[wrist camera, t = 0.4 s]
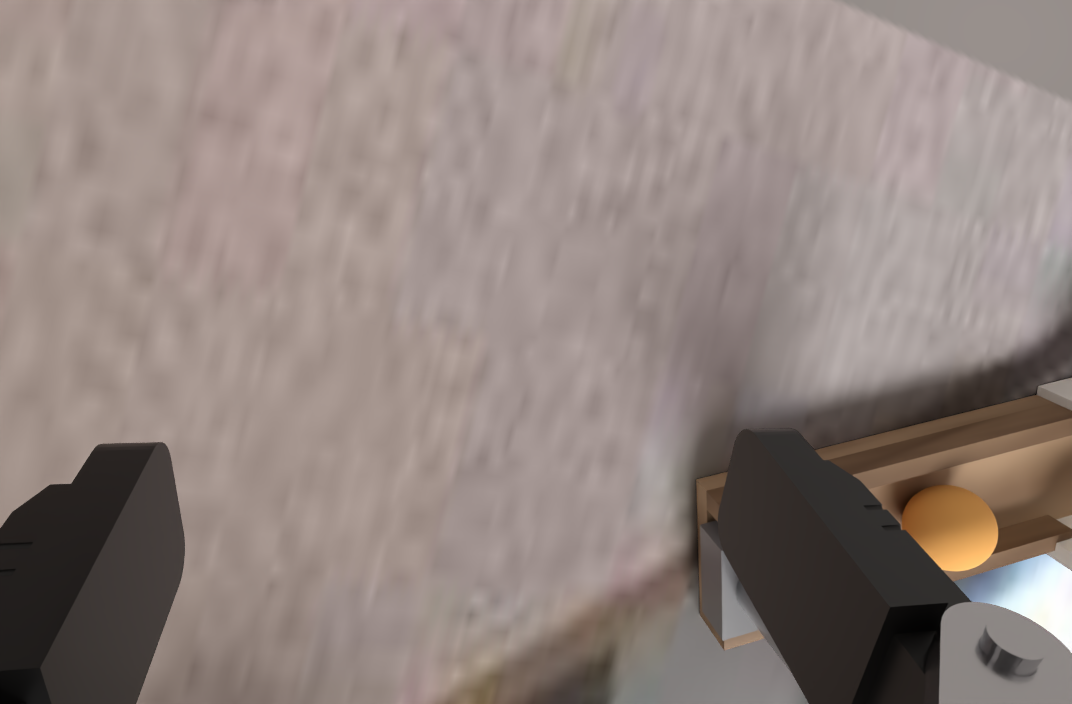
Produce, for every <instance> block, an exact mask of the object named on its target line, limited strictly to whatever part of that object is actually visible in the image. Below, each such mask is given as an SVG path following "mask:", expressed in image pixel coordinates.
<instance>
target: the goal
mask: <svg viewBox="0 0 1072 704" xmlns="http://www.w3.org/2000/svg"><path fill="white" fill-rule="evenodd" d="M1037 395H1038V396H1041V397H1043V398H1045V399H1047V400H1049V401H1051V402H1054V403H1056V404H1058V405H1060V406H1062V407H1065V408H1067V409H1069V410H1071V411H1072V378H1068V379H1064V380H1060V381H1056V382H1052V383H1048V384H1044V385H1040V386H1038V389H1037ZM1056 520H1058V521H1059V522H1061V523H1063V524H1064V525H1066V526H1068V527H1069V528H1071V529H1072V515H1070V516H1067V517H1063V518H1060V519H1056ZM1046 554H1047V555H1049V556H1050V557H1052V558H1053V559H1055V560H1056V561H1058V562H1059V563H1061V564H1062V565H1064V566H1065V567H1067V568H1068V569H1070V570H1071V571H1072V538H1071V539H1068V540H1064V541H1061V542H1058V543H1056V548H1055V551H1052V552H1049V553H1046Z"/></svg>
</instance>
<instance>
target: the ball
mask: <svg viewBox="0 0 1072 704" xmlns="http://www.w3.org/2000/svg"><path fill="white" fill-rule="evenodd" d="M902 530H906V531H907V532H908V533H909V534H910V535H911V536H912V537H913V539H914V540H915V541H916V542H917V543H918V544H919V545H920V546H921V547H922V548H923V549H924V551H925V552H926V553H927V554H928V555H929V556H930V557H931V558H932V559H933V560H934V561H935V563H936V564H937V565H938V566H939V567H940V568H941V569H942V570H947V571H965V570H969V569H972V568H975V567H977V566H979V565H980V564H982V563H983V562H985V561H986V560H987V559H988V558H989V557H990V556H991V554H992V553H993V551H994V549H995V547H996V544H997V540H998V526H997V522H996V519H995V516H994V514H993V512H992V511H991V509H990V508H989V506H988V505H987V504H986V503H985V502H984V501H983V500H982V499H981V498H980V497H979V496H977V495H976V494H974V493H973V492H971V491H969V490H967V489H964V488H961V487H957V486H953V485H936V486H932V487H928V488H925V489H923V490H921V491H920V492H918V493H917V494H915V495H914V496H913V497H912V498H911V499H910V500H909V502H908V503H907V505H906V507H905V509H904V511H903V515H902Z"/></svg>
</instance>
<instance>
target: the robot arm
mask: <svg viewBox="0 0 1072 704" xmlns="http://www.w3.org/2000/svg"><path fill="white" fill-rule="evenodd" d="M718 533H719V539H720V543H721V546H722V549H723V552H724V554H725V556H726V557H727V559H728V561H729V563H730V565H731V566H732V568H733V570H734V572H735V573H736V575H737V577H738V579H739V580H740V582H741V584H742V586H743V588H744V589H745V591H746V593H747V595H748V596H749V598H750V600H751V602H752V603H753V605H754V607H755V609H756V611H757V612H758V614H759V616H760V618H761V619H762V621H763V623H764V625H765V626H766V628H767V630H768V632H769V634H770V635H771V637H772V639H773V641H774V642H775V644H776V646H777V648H778V649H779V651H780V653H781V655H782V657H783V658H784V660H785V662H786V664H787V665H788V667H789V669H790V671H791V672H792V674H793V676H794V678H795V680H796V681H797V683H798V685H799V687H800V688H801V690H802V692H803V694H804V695H805V697H806V699H807V701H808V703H809V704H1072V653H1071V652H1070V651H1069V650H1068V649H1067V648H1066V646H1065V645H1064V644H1063V643H1062V642H1061V641H1059V640H1058V639H1057V638H1056V637H1055V636H1054V635H1053V634H1051V633H1050V632H1048V631H1047V630H1046V629H1044V628H1043V627H1042V626H1040V625H1038V624H1037V623H1035V622H1033V621H1032V620H1030V619H1028V618H1026V617H1024V616H1022V615H1020V614H1018V613H1016V612H1013V611H1011V610H1008V609H1006V608H1002V607H999V606H996V605H992V604H987V603H980V602H971V601H970V600H969V598H968V597H967V596H966V595H965V594H964V593H963V592H962V591H961V590H960V589H959V588H958V586H957V585H956V584H955V583H954V582H953V581H952V580H951V579H950V578H949V577H948V576H947V574H946V573H945V572H944V571H943V570H942V569H941V568H940V567H939V566H938V565H937V564H936V563H935V561H934V560H933V559H932V558H931V557H930V556H929V555H928V554H927V553H926V552H925V551H924V549H923V548H922V547H921V546H920V545H919V544H918V543H917V542H916V541H915V540H914V539H913V537H912V536H911V535H910V534H909V533H908V532H907V531H906V530H901V524H900V523H899V522H898V521H897V520H896V519H895V518H894V517H893V516H892V515H891V513H890V512H889V511H888V510H887V509H884V510H883V508H882V504H881V503H880V502H879V500H878V499H877V498H876V497H875V496H874V495H873V494H872V493H871V492H870V491H869V490H868V488H867V487H866V486H865V485H864V484H863V483H862V482H861V481H860V480H859V479H857V478H856V477H854V476H853V475H851V474H849V473H848V472H846V471H845V470H843V469H842V468H840V467H839V466H837V465H835V464H834V463H832V462H831V461H829V460H823V459H822V458H821V457H820V456H819V455H818V454H817V452H816V451H815V450H814V449H813V448H812V447H811V446H810V444H809V443H808V442H807V441H806V440H805V439H804V438H803V437H802V435H801V434H800V433H799V432H798V431H796V430H795V429H792V428H779V429H745V430H742V431H741V432H740V433H739V434H738V436H737V438H736V440H735V444H734V448H733V452H732V456H731V460H730V465H729V469H728V473H727V477H726V482H725V486H724V490H723V494H722V498H721V503H720V507H719V512H718ZM184 556H185V540H184V531H183V526H182V520H181V514H180V508H179V502H178V497H177V491H176V485H175V479H174V473H173V467H172V462H171V457H170V453H169V450H168V448H167V446H166V445H165V444H164V443H163V442H155V443H114V444H99V445H98V446H96V447H95V448H94V450H93V451H92V453H91V454H90V456H89V457H88V459H87V460H86V462H85V463H84V465H83V466H82V468H81V470H80V471H79V473H78V474H77V476H76V477H75V479H74V480H73V482H72V483H71V484H54V485H49V486H48V487H46V488H45V489H44V490H42V491H41V492H39V493H38V494H37V495H35V496H34V497H32V498H31V499H30V500H28V501H27V502H26V503H24V504H23V505H21V506H20V507H19V508H17V509H16V510H15V511H13V512H12V513H11V515H10V516H9V517H8V519H7V520H6V521H5V523H4V524H3V526H2V527H1V528H0V704H136V703H137V700H138V697H139V694H140V691H141V689H142V686H143V683H144V680H145V678H146V675H147V672H148V669H149V667H150V664H151V661H152V658H153V656H154V653H155V650H156V647H157V645H158V642H159V639H160V636H161V634H162V631H163V628H164V625H165V623H166V620H167V617H168V614H169V612H170V609H171V606H172V603H173V601H174V598H175V595H176V592H177V590H178V587H179V584H180V581H181V577H182V572H183V566H184Z"/></svg>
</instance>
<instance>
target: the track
mask: <svg viewBox="0 0 1072 704" xmlns="http://www.w3.org/2000/svg"><path fill="white" fill-rule="evenodd" d="M815 451H816V452H817V454H818V455H819V456H820V457H821V458H822V459H823V460H829V461H831V462H832V463H834V464H835V465H837V466H839V467H840V468H842V469H843V470H845V471H846V472H848V473H849V474H851V475H853V476H854V477H856V478H857V479H859V480H860V481H861V482H862V483H863V484H864V485H865V486H866V487H867V488H868V490H869V491H870V492H871V493H872V494H873V495H874V496H875V497H876V498H877V499H878V500H879V502H880V503H881V504H882V508H883V510H884V509H887V510H888V511H889V512H890V513H891V515H892V516H893V517H894V518H895V519H896V520H897V521H898V522H899V523H900V524H901V530H902V515H903V511H904V509H905V507H906V505H907V503H908V502H909V500H910V499H911V498H912V497H913V496H914V495H915V494H917V493H918V492H920V491H921V490H923V489H925V488H928V487H932V486H936V485H953V486H957V487H961V488H964V489H967V490H969V491H971V492H973V493H974V494H976V495H977V496H979V497H980V498H981V499H982V500H983V501H984V502H985V503H986V504H987V505H988V506H989V508H990V509H991V511H992V512H993V514H994V516H995V519H996V522H997V526H998V540H997V544H996V547H995V549H994V551H993V553H992V554H991V556H990V557H989V558H988V559H987V560H986V561H985V562H983V563H982V564H980V565H979V566H977V567H975V568H972V569H969V570H965V571H947V570H943V571H944V572H945V573H946V574H947V576H948V577H949V578H950V579H951V580H952V581H956V580H959V579H963V578H966V577H969V576H973V575H976V574H979V573H983V572H986V571H989V570H993V569H996V568H999V567H1003V566H1006V565H1009V564H1012V563H1016V562H1019V561H1022V560H1026V559H1029V558H1032V557H1036V556H1039V555H1042V554H1046V553H1049V552H1052V551H1055V548H1056V543H1058V542H1061V541H1064V540H1068V539H1071V538H1072V529H1071V528H1069V527H1068V526H1066V525H1064V524H1063V523H1061V522H1059V521H1058V520H1056V519H1060V518H1063V517H1067V516H1070V515H1072V411H1071V410H1069V409H1067V408H1065V407H1062V406H1060V405H1058V404H1056V403H1054V402H1051V401H1049V400H1047V399H1045V398H1043V397H1041V396H1038V395H1033V396H1029V397H1025V398H1021V399H1017V400H1013V401H1009V402H1005V403H1001V404H997V405H993V406H989V407H985V408H981V409H977V410H973V411H969V412H965V413H961V414H957V415H953V416H949V417H945V418H941V419H937V420H933V421H929V422H925V423H921V424H917V425H913V426H909V427H905V428H901V429H897V430H893V431H889V432H885V433H881V434H877V435H873V436H869V437H865V438H861V439H857V440H853V441H849V442H845V443H841V444H837V445H833V446H829V447H825V448H821V449H817V450H815ZM727 473H728V472H724V473H720V474H716V475H712V476H708V477H704V478H700V479H696V488H697V523H698V559H699V594H700V616H701V617H702V618H703V620H704V621H705V623H706V624H707V626H708V627H709V629H710V630H711V632H712V633H713V635H714V636H715V637H716V639H717V640H718V642H719V643H720V645H721V646H722V648H723V649H724V650H727V649H731V648H734V647H737V646H741V645H744V644H747V643H751V642H754V641H757V640H760V639H764V636H763V635H762V634H761V632H760V631H759V630H757V631H754V632H750V633H747V634H744V635H740V636H737V637H734V638H730V639H727V640H724V641H722V639H721V638H720V636H719V635H718V633H717V632H716V631H715V629H714V628H713V626H712V625H711V623H710V622H709V620H708V619H707V618H706V616H705V615H704V613H703V612H702V583H701V546H700V525H701V524H705V523H708V522H712V521H717V522H718V512H719V507H720V503H721V498H722V494H723V490H724V486H725V482H726V477H727Z"/></svg>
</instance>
